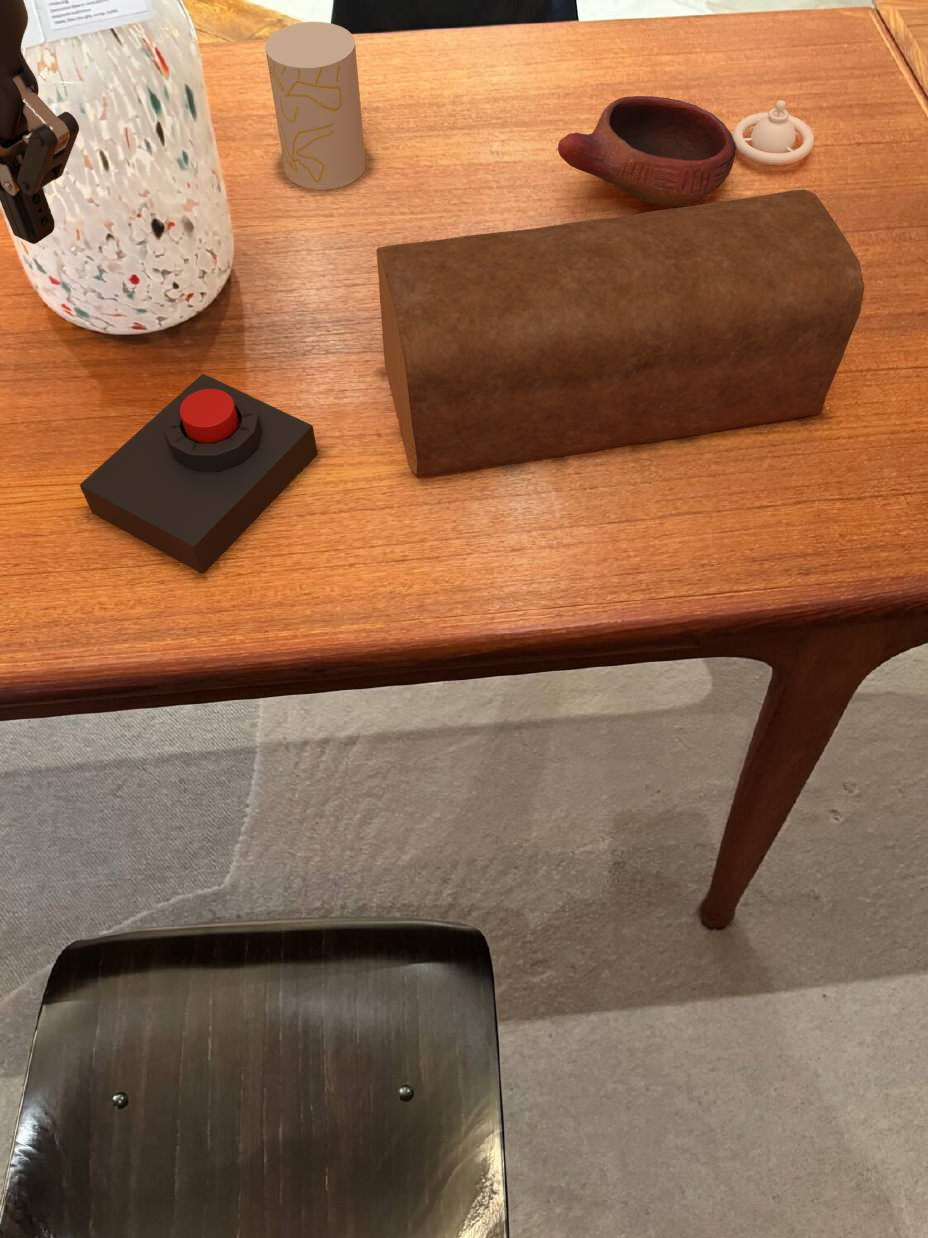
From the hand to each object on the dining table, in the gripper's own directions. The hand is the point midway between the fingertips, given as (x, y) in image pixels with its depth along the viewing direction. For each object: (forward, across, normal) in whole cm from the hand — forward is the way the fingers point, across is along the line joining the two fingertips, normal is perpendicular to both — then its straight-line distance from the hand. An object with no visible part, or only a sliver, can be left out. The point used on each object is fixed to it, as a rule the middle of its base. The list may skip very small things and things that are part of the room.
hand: (36, 234), depth 68 cm
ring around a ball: (+19, +27, +65) cm, 73 cm away
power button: (+15, +8, +3) cm, 17 cm away
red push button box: (+20, +8, +1) cm, 21 cm away
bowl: (+19, +20, +52) cm, 59 cm away
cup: (+19, -10, +40) cm, 45 cm away
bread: (+19, +29, +26) cm, 44 cm away
